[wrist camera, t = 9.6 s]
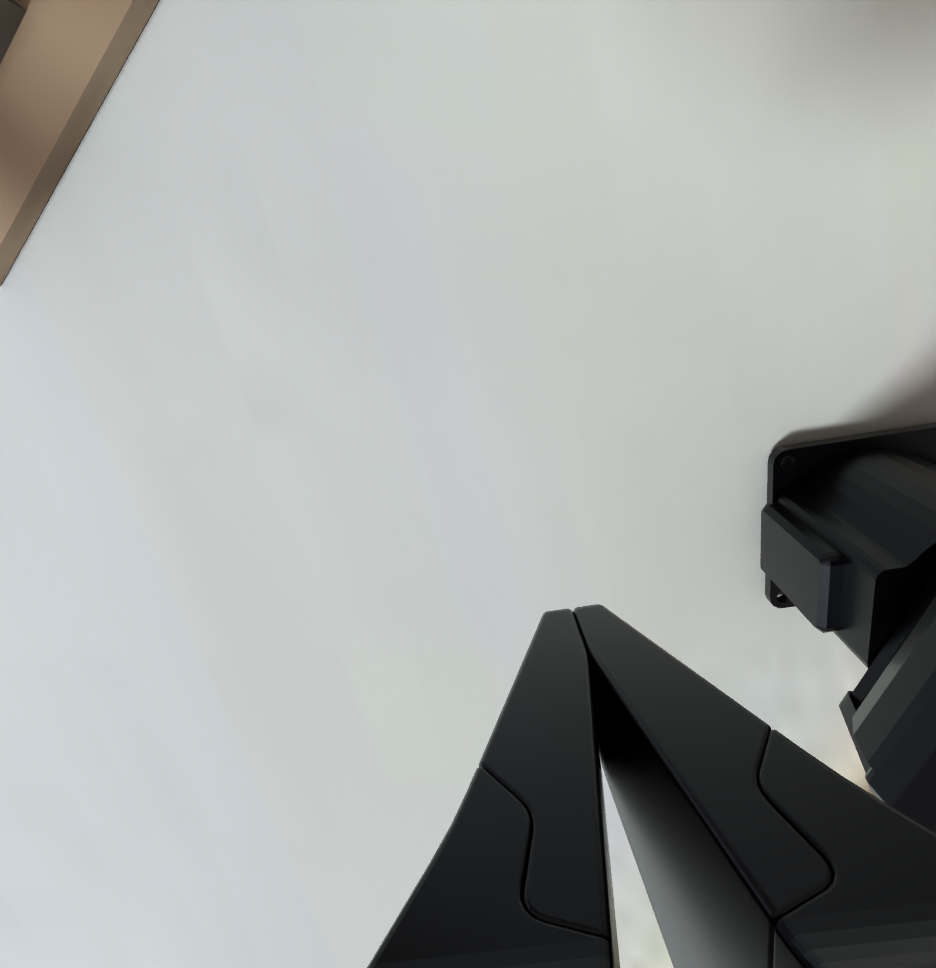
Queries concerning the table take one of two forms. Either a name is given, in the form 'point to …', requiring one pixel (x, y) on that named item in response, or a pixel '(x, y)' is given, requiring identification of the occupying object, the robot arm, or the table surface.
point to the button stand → (53, 95)
